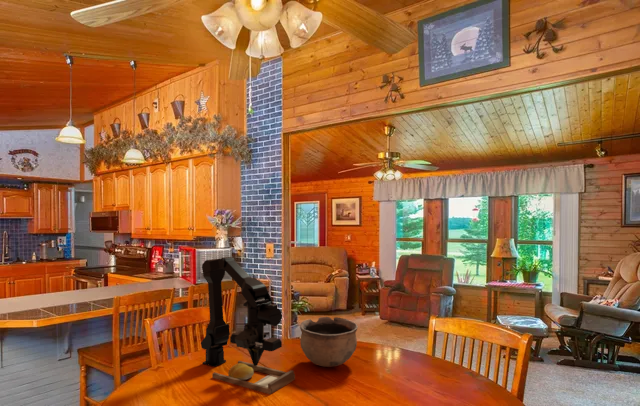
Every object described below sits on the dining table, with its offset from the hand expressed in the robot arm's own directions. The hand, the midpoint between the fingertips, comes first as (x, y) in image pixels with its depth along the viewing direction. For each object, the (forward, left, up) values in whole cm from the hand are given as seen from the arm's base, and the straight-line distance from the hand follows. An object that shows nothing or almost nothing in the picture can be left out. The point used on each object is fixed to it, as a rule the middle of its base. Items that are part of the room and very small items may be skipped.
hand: (255, 365), depth 146 cm
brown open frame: (-1, 0, -5) cm, 5 cm away
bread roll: (-2, 0, -5) cm, 6 cm away
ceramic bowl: (+15, +26, -5) cm, 30 cm away
